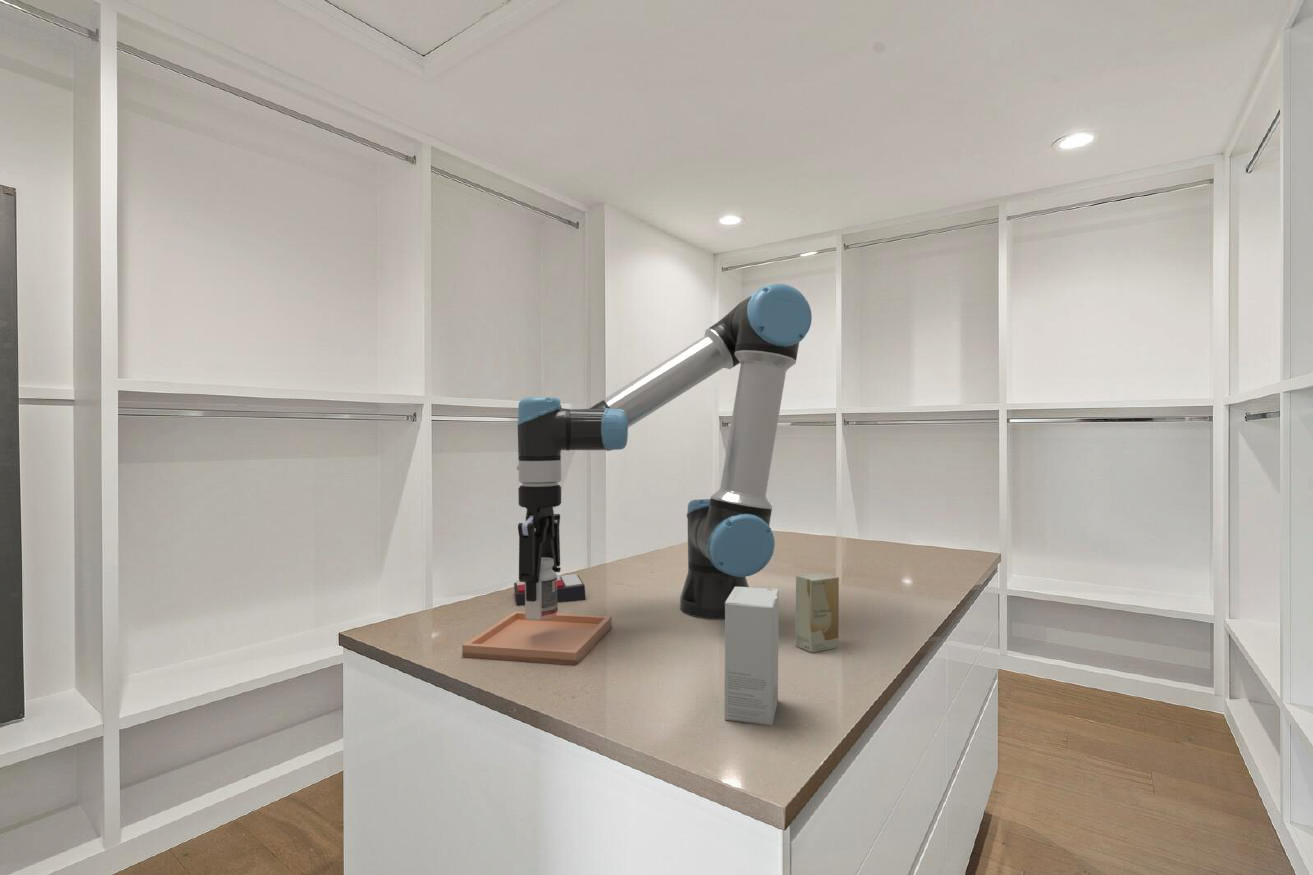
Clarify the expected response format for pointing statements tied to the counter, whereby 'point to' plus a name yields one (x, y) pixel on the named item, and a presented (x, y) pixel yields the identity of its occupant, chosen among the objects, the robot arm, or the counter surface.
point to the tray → (539, 638)
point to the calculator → (566, 589)
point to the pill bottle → (548, 588)
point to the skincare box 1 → (751, 655)
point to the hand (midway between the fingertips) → (540, 613)
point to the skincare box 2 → (817, 612)
